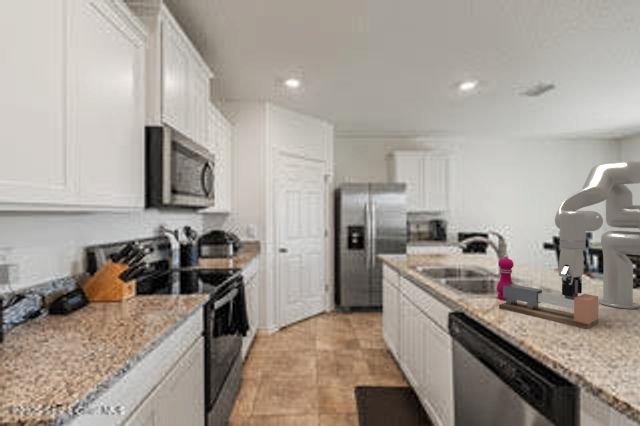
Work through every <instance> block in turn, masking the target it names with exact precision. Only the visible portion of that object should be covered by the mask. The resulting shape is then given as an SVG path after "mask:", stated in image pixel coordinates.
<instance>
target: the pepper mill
mask: <svg viewBox="0 0 640 426" xmlns="http://www.w3.org/2000/svg"><path fill="white" fill-rule="evenodd" d="M514 265H515V264H514V261H513V260H512V259H511V258H509V256H508V255H507V254H504V255H503V257H502V258H500V259H499V260H498V267H499V273H500V278H499V281H498V283H497V286H496V291H497V292H498V294H497V299H498V300H501V301H506V298H504V297H503V285H507V284H513V285H514V283H513V281H512V273H513V269H512V268H513V267H514Z"/></svg>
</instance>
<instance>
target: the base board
mask: <svg viewBox="0 0 640 426" xmlns="http://www.w3.org/2000/svg"><path fill="white" fill-rule="evenodd" d="M498 306H499V307H498V309H502V310H506V311H510V312H514V313H517V314H522V315H527V316H531V317H535V318H540V319H544V320H548V321H552V322H556V323H561V324H564V325H569V326H573V327H577V328H582V329H590V328H592V327H593V326H596V325H598V324H599V320H600V319H599V318H598V319H597V320H595V321H593V322H591V323H589V324H585V323H580V322H576V321H574V312H573V313H572V312H569V311H565V310H564V311H562V310H558V309H554V308H550V307H544V306H540V305H538V308H537V309H534V310H530V309H527V302H522V301H517V304H513V305H508V304H506V302H503V303H501V304H499V305H498Z"/></svg>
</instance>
